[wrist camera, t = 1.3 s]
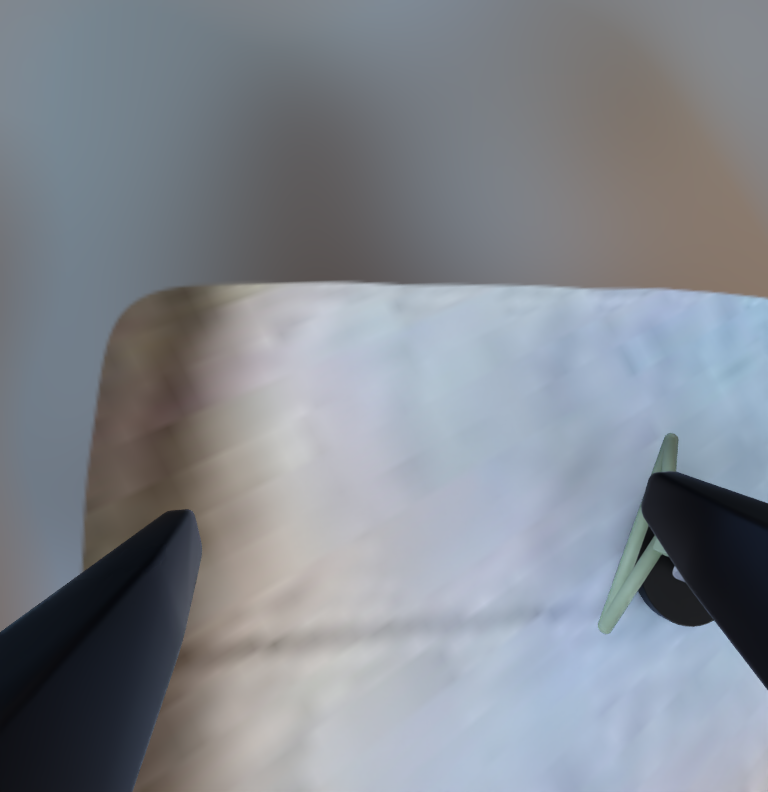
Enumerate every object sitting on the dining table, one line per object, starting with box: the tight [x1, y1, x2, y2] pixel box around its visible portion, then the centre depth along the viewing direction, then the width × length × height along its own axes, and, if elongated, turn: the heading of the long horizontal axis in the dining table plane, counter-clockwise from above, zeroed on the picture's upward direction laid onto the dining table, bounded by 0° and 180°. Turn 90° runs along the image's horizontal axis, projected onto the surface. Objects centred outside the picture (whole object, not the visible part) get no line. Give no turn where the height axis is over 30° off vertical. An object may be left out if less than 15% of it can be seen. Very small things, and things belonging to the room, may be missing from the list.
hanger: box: [598, 433, 685, 634], centre depth 19 cm, size 1×12×11 cm, turn 153°
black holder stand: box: [634, 526, 714, 627], centre depth 22 cm, size 8×12×9 cm
